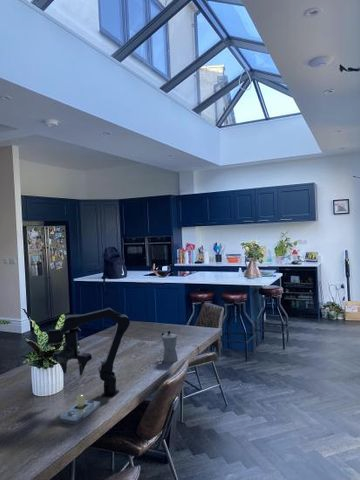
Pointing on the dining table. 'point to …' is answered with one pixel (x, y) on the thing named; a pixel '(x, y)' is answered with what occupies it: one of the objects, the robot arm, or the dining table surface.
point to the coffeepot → (169, 347)
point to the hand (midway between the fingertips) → (72, 374)
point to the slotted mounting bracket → (78, 412)
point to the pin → (80, 401)
